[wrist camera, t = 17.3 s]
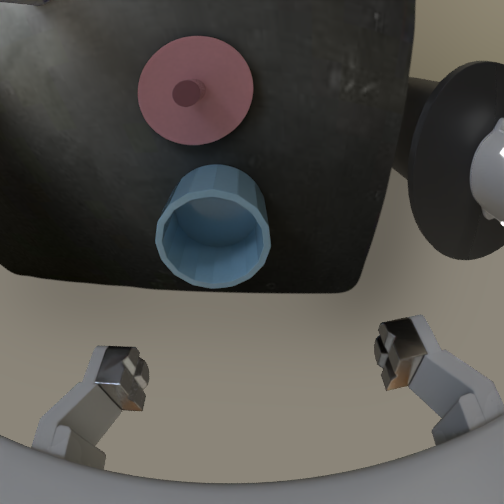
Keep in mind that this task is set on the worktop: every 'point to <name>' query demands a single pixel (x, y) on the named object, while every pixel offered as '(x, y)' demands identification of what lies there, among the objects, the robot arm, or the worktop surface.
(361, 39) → the worktop surface
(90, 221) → the worktop surface
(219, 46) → the cover plate
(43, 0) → the energy drink
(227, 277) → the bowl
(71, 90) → the worktop surface
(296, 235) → the worktop surface
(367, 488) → the robot arm
